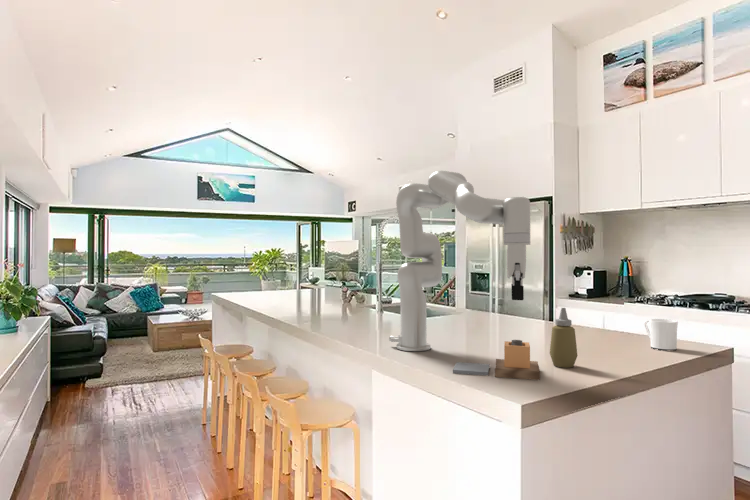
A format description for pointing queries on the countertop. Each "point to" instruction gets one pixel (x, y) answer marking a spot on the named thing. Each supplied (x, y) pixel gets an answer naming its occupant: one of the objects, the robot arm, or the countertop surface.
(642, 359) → the countertop surface
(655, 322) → the mug
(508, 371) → the stand
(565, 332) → the squeeze bottle
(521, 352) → the collar
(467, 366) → the pad
